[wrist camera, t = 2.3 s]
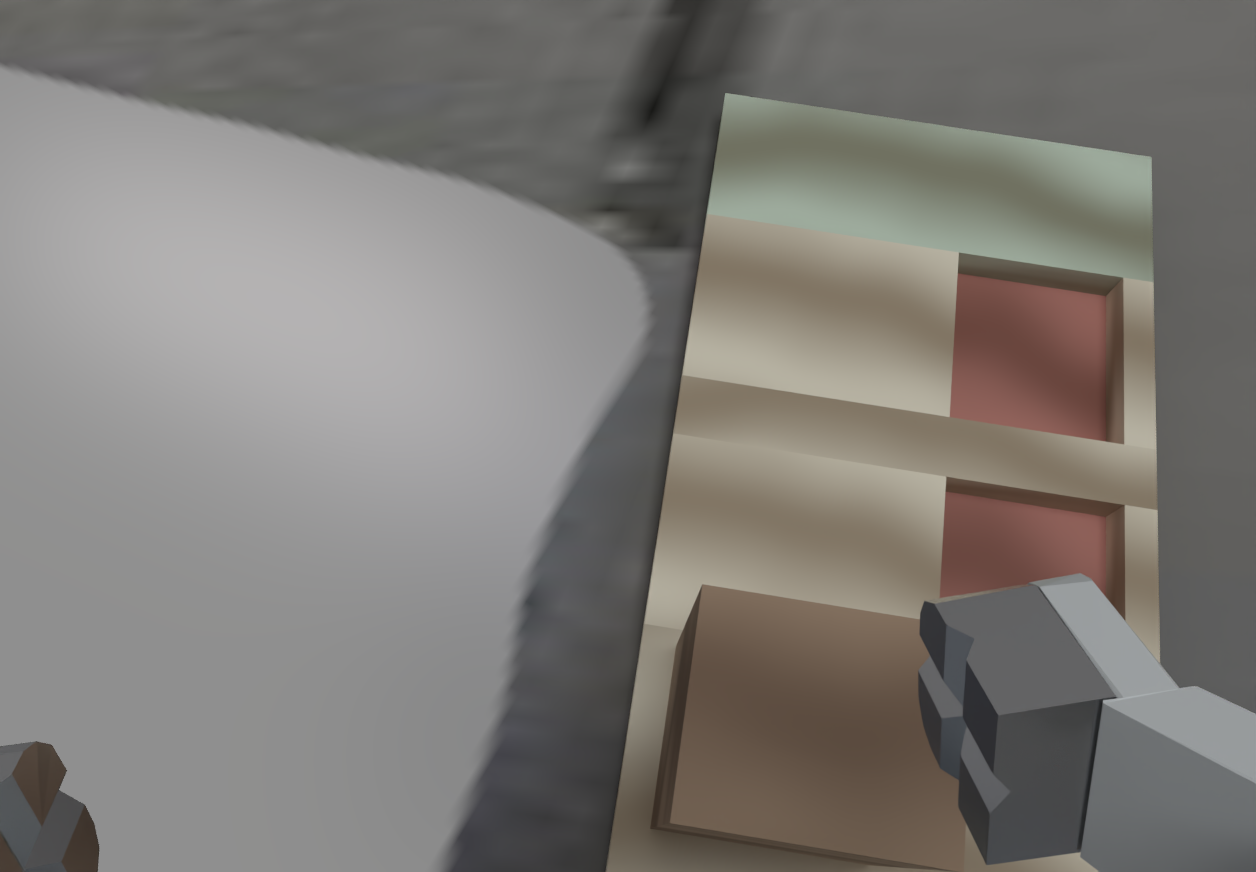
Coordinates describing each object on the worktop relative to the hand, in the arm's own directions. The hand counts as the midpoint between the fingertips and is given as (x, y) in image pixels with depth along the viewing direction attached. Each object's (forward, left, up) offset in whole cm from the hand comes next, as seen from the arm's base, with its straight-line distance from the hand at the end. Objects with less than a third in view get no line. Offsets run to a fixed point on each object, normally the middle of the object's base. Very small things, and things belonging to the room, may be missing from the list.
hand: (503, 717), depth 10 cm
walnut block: (+2, -5, -21) cm, 22 cm away
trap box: (+9, -9, -22) cm, 26 cm away
